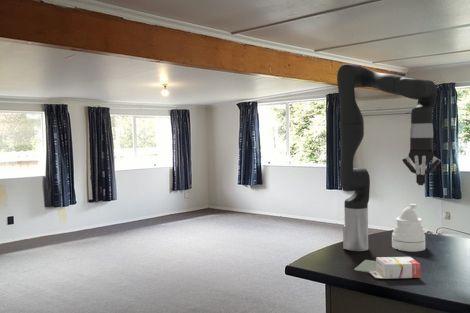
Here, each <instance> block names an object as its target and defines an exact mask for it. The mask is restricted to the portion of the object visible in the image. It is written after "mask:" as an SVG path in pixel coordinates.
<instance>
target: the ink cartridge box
mask: <svg viewBox="0 0 470 313" xmlns="http://www.w3.org/2000/svg"><path fill="white" fill-rule="evenodd" d="M375 261H376V271H375V270H368V271H369V272H368V273H369V274H370V275H371V276H373V277H374V279H385V280H386V279H387V280H388V279H413V278H414V279H415V278H416V279H417V278H419V279H420V278H421V267H422V266H421V263H420V262H419V261H417V260H415V259H414V258H413V257H411V256H386V257H385V256H381V257H378V256H376V258H375Z"/></svg>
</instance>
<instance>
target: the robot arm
mask: <svg viewBox="0 0 470 313" xmlns="http://www.w3.org/2000/svg"><path fill="white" fill-rule="evenodd" d="M336 74H337V75H336V81H337V90H338V98H339V112H340V113H339V116H340V117H339V118H340V122H339V123H340V124H339V126H340V129H339V130H340V148H341V149H340V166H339V167H340V168H339V182H340V183H339V184H340V187H341V189H342V190H343V191H345V192H354V193H353V194H352V195H351V196H350V197H347V198H346V199H345V200H344V204H343V205H344V225H343V226H342V241H343V242H342V244H343V246H342V247H343V248H342V249H343V250H347V251H352V252H365V251H368V250H369V210H368V209H369V208H368V207H369V202H370V187H371V178H370V173H369V171H368V170H367V168H364V167H354V158H355V154H356V153H357V150H358V148H359V147H360V145H361V143H362V141H363V138H364V135H365V128H364V127H365V122H364V117H363V115H362V112H361V109H360V107H359V106H358V103H357V100H356V93H355V88H374V89H375V90H379V91H381V92H385V93H388V94H392V95H397V96H401V97H405V98H408V99H410V100H417V102H416V105H415V106H414V107H413V108H412V109H411V112H410V116H411V117H410V129H409V133H410V134H409V151H408V152H409V153H408V155H407V156H406V157H405V158H403V159H402V162H403V164H404V165H405V166H406V167H407V169H408V170H409V171H410V172H411V173H413V174H415V176H416V178H415V182H416V184H417V185H418V186H424V184H426V182H427V181H426V179H427V177H426V175H429V174H430V173H432V172H433V170H435V169H436V167H437V166H439V164H440V163H441V159H440V158H438V157H436V156H435V152H434V127H433V126H434V125H433V111H434V108H435V104H436V99H437V95H438V91H437V90H438V89H437V85H436V83H434V81H432V80H430V79H421V78H420V79H418V78H411V77H407V76H405V75H399V74H394V73H387V72H386V73H385V72H379V71H374V70H371V69H369V68H367V67H365V66H362V65H359V64H352V63H344V64H342V65H341V66H340V67H339V68H338V71H337V73H336ZM431 161H432V162H431ZM411 162H412V163H413V164H414V165H413V164H412V163H411ZM430 162H431V163H432V164H431V165H430V167H429V168H428V165H429V164H430ZM414 166H415V167H414ZM427 168H428V169H427Z"/></svg>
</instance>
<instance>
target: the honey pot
mask: <svg viewBox="0 0 470 313" xmlns="http://www.w3.org/2000/svg"><path fill="white" fill-rule="evenodd" d="M416 208H417V203H410V204H409V206H407V207H405V208H403V209H402V211H401V212H400V214H399V215H398V217H396V218H395V220H396V223H395V225H394V228H393V231H392V233H391V247H392V248H393V249H395V250H397V249H398V250H399V251H404V252H421V251H425V250H426V234H425V232H424V230H423V229H424V228H423V226H422V222H423V219H422V218H421V217H419V216H418V215H417V213H416V212H415V209H416Z"/></svg>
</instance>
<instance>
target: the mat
mask: <svg viewBox="0 0 470 313" xmlns="http://www.w3.org/2000/svg"><path fill="white" fill-rule="evenodd" d="M368 270H375V271H376V260H370V259H364V260H363V261H362V262H361V263H360V264H359V265H357V266H356V267H355V268H354V271H357V272H364V273H370V272H369V271H368Z"/></svg>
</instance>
